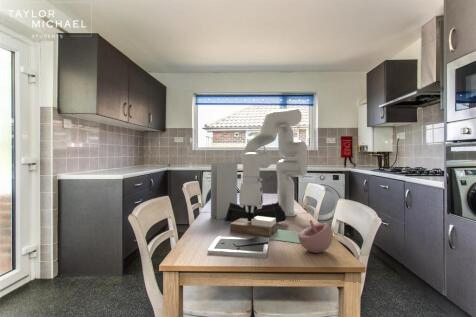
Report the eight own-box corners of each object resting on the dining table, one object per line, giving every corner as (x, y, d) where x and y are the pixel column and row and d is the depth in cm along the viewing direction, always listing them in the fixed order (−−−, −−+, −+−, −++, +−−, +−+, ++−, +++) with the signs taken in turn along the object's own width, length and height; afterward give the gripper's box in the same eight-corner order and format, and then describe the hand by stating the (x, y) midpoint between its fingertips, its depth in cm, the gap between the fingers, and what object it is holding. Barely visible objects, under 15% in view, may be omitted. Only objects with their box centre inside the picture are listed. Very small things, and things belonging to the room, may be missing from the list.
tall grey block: (230, 213, 162) (231, 161, 161) (237, 215, 158) (237, 162, 157) (210, 217, 152) (211, 162, 151) (217, 219, 148) (217, 162, 147)
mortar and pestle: (295, 245, 108) (296, 216, 108) (327, 246, 108) (328, 216, 107) (300, 257, 96) (301, 224, 96) (336, 258, 96) (337, 225, 95)
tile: (256, 221, 130) (256, 215, 129) (275, 223, 126) (275, 217, 126) (251, 224, 123) (251, 219, 123) (271, 227, 120) (271, 221, 119)
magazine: (219, 205, 140) (277, 189, 138) (220, 204, 143) (277, 188, 142) (229, 238, 140) (287, 222, 139) (229, 236, 143) (286, 220, 142)
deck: (240, 226, 136) (240, 217, 136) (276, 230, 128) (276, 222, 128) (229, 232, 125) (229, 223, 125) (268, 238, 117) (268, 228, 117)
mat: (278, 230, 130) (278, 229, 130) (309, 233, 124) (309, 233, 124) (268, 239, 116) (268, 238, 116) (303, 244, 110) (303, 243, 110)
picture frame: (268, 244, 111) (217, 241, 114) (269, 237, 111) (217, 234, 114) (266, 259, 96) (207, 255, 99) (266, 251, 96) (207, 247, 99)
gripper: (269, 180, 127) (269, 220, 127) (239, 178, 133) (238, 217, 133) (264, 181, 120) (263, 224, 120) (232, 180, 126) (232, 220, 127)
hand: (250, 220), depth 127 cm, fingers closed
